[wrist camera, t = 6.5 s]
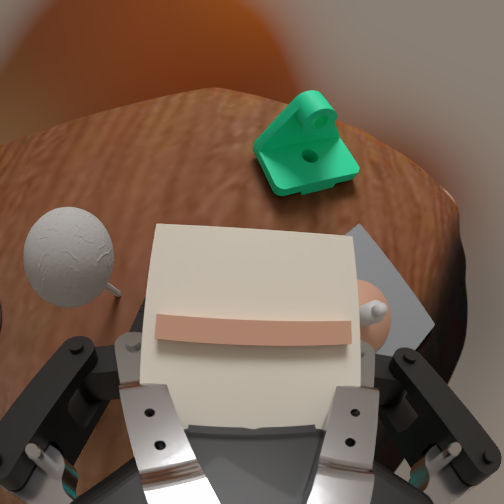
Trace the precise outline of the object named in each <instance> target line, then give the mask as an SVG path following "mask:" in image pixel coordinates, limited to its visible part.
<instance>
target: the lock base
mask: <svg viewBox="0 0 504 504" xmlns="http://www.w3.org/2000/svg"><path fill="white" fill-rule="evenodd" d="M344 236H353V244H354V253H355V263H356V274H357V286H358V300H359V318H360V340H362V341H365V342H366V343H368V344H370V345H371V346H372V347H373V349H374V351H375V353H376V354H380V355H386V356H393V354H394V352H395V351H396V350H397V349H399V348H402V347H406V348H411V349H413V350H416V348H417V347H418V346H419V345H420V343H421V342H422V341H423V340H424V338H425V337H426V336H427V334H428V333H429V332H430V330H431V329H432V328H433V326H434V325H435V324H434V322H433V321H432V319H431V318H430V316H429V315H428V313H427V312H426V310H425V309H424V307H423V306H422V304H421V303H420V302H419V300H418V299H417V297H416V296H415V294H414V293H413V292H412V290H411V289H410V287H409V286H408V285H407V283H406V282H405V281H404V279H403V278H402V277H401V275H400V274H399V272H398V271H397V270H396V269H395V267H394V266H393V265H392V263H391V262H390V261H389V259H388V258H387V257H386V256H385V254H384V253H383V252H382V250H381V249H380V248H379V247H378V245H377V244H376V243H375V242H374V240H373V239H372V238H371V237H370V236H369V234H368V233H367V232H366V231H365V229H364V228H363V227H362V226H361V225H360V224H358V225H357V226H356V227H354V228H353V229H352V230H351V231H349V232H348V233H347V234H345V235H344Z"/></svg>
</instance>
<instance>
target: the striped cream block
mask: <svg viewBox="0 0 504 504" xmlns="http://www.w3.org/2000/svg"><path fill="white" fill-rule="evenodd" d="M140 383H156V384H167V387H168V390H169V393H170V395H171V398H172V401H173V404H174V406H175V409H176V412H177V414H178V417H179V419H180V422H181V424H182V427H183V429H188V425H199V426H215V427H244V428H249V429H258V428H262V427H286V426H301V425H313V424H315V427H316V429H322V430H324V426H325V422H326V418H327V414H328V411H329V408H330V405H331V402H332V399H333V396H334V392H335V389H336V386H360V385H361V348H360V318H359V300H358V286H357V274H356V263H355V253H354V244H353V236H343V235H331V234H318V233H305V232H291V231H277V230H262V229H247V228H231V227H213V226H195V225H175V224H156V229H155V235H154V241H153V247H152V254H151V261H150V268H149V275H148V283H147V291H146V300H145V310H144V320H143V332H142V345H141V363H140Z"/></svg>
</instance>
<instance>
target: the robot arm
mask: <svg viewBox="0 0 504 504" xmlns="http://www.w3.org/2000/svg"><path fill="white" fill-rule="evenodd" d="M145 300H146V297H145V298H144V301H143V303H142V305H141V307H140V309H139V313H138V314H137V316H136V318H135V320H134V322H133V325H132V327H131V329H130V331H129V333H125V334H123V335H121V336H120V337H119V338H118V339H117V340H116V342H115V345H111V346H101V347H94V344H93V342H92V341H91V340H90V339H89V338H87V337H83V336H77V337H72V338H70V339H68V340H67V341H65V342H64V343H63V344H62V345H61V346H60V348H59V349H58V350H57V351H56V352H55V353H54V354H53V356H52V357H51V358H50V359H49V360H48V361H47V363H46V364H45V365H44V366H43V367H42V369H41V370H40V371H39V372H38V373H37V374H36V376H35V377H34V378H33V379H32V381H31V382H30V383H29V384H28V386H27V387H26V388H25V389H24V391H23V392H22V393H21V394H20V396H19V397H18V398H17V399H16V401H15V402H14V403H13V405H12V406H11V407H10V409H9V410H8V411H7V413H6V414H5V415H4V417H3V418H2V419H1V421H0V486H1V487H2V488H3V489H5V490H6V491H8V492H9V493H11V494H12V495H14V496H15V497H17V498H18V499H20V500H21V501H23V502H26V503H28V504H451V503H452V502H453V501H455V500H456V499H457V498H459V497H461V496H462V495H464V494H465V493H466V492H468V491H470V490H471V489H472V488H474V487H475V486H477V485H478V484H480V483H481V482H482V481H484V480H485V479H486V478H488V477H489V476H490V475H492V474H493V473H494V472H495V471H497V470H498V468H499V466H500V464H501V453H500V450H499V449H498V447H497V446H496V444H495V443H494V442H493V441H492V439H491V438H490V437H489V435H488V434H487V433H486V431H485V430H484V429H483V428H482V426H481V425H480V424H479V423H478V421H477V420H476V419H475V418H474V416H473V415H472V414H471V413H470V411H469V410H468V409H467V408H466V407H465V405H464V404H463V403H462V402H461V401H460V400H459V398H458V397H457V396H456V395H455V393H454V392H453V391H452V390H451V389H450V387H449V386H448V385H447V384H446V383H445V382H444V380H443V379H442V378H441V377H440V376H439V375H438V374H437V372H436V371H435V370H434V369H433V368H432V367H431V366H430V365H429V363H428V362H427V361H426V360H425V359H424V358H423V357H422V356H421V354H419V353H418V352H417V351H415V350H413V349H411V348H406V347H402V348H399V349H397V350H396V351H395V352H394V354H393V356H386V355H380V354H376V353H375V351H374V349H373V347H372V346H371V345H370V344H368V343H366V342H365V341H362V340H360V348H361V385H360V386H336V389H335V392H334V396H333V399H332V402H331V405H330V408H329V411H328V414H327V418H326V422H325V426H324V430H322V429H316V427H315V424H313V425H301V426H286V427H262V428H258V429H249V428H244V427H215V426H199V425H188V429H183V427H182V424H181V422H180V419H179V417H178V414H177V412H176V409H175V406H174V404H173V401H172V398H171V395H170V393H169V390H168V387H167V384H156V383H140V363H141V345H142V332H143V320H144V310H145ZM0 326H1V306H0ZM407 393H408V394H409V395H410V396H411V398H412V399H413V400H414V402H415V403H416V404H417V406H418V409H419V414H418V415H417V414H416V412H415V411H414V409H413V408H412V407H411V405H410V404H409V403H408V401H407V400H406V399H405V395H406V394H407ZM111 399H121V403H122V408H123V412H124V417H125V422H126V426H127V430H128V434H129V438H130V442H131V446H132V450H133V453H134V457H133V458H132V459H131V460H129V461H128V462H127V463H125V464H124V465H123V466H121V467H120V468H119V469H117V470H116V471H115V472H113V473H112V474H110V475H109V476H108V477H106V478H105V479H104V480H102V481H101V482H99V483H98V484H96V485H95V486H94V487H92V488H91V489H89V490H88V491H86V492H85V493H83V494H82V495H80V496H79V497H77V496H76V487H77V482H78V475H77V472H76V470H75V468H74V467H73V466H74V464H75V462H76V460H77V458H78V456H79V455H80V453H81V451H82V449H83V447H84V446H85V444H86V442H87V440H88V438H89V437H90V435H91V433H92V431H93V430H94V428H95V426H96V424H97V423H98V421H99V419H100V417H101V416H102V414H103V412H104V410H105V409H106V407H107V405H108V404H109V402H110V400H111ZM378 417H379V418H380V420H381V421H382V423H383V424H384V426H385V428H386V429H387V431H388V432H389V434H390V435H391V437H392V439H393V440H394V442H395V443H396V445H397V446H398V448H399V450H400V451H401V453H402V454H403V456H404V458H405V459H406V461H407V462H408V464H409V466H410V467H411V471H410V480H409V482H407V481H405V480H404V479H402V478H401V477H399V476H398V475H396V474H394V473H393V472H391V471H390V470H388V469H387V468H385V467H384V466H382V465H381V464H380V463H378V462H377V461H375V460H374V459H373V458H374V450H375V442H376V432H377V421H378Z"/></svg>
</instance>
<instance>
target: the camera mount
mask: <svg viewBox="0 0 504 504" xmlns="http://www.w3.org/2000/svg"><path fill="white" fill-rule="evenodd" d="M336 118H337V114H336V112H335V111H334V109H333V108H332V107H331V106H330V104H329V103H328V102H327V100H326V99H325V98H324V97H323V95H322V94H321V93H320V92H317V91H313V90H312V91H306V92H303V93H301V94H300V95H298V96H297V97H296V98H295V99H294V100H293V101H292V102H291V103H290V104H289V105H288V106H287V107H286V108H285V109H284V110H283V111H282V112H281V113H280V114H279V116H278V117H277V118H276V119H275V120H274V121H273V122H272V123H271V124H270V125H269V126H268V127H267V129H266V130H265V131H264V132H263V133H262V134H261V135H260V136H259V137H258V139H257V140H256V141H255V142H254V147H253V151H254V153H255V155H256V157H257V159H258V161H259V163H260V165H261V167H262V169H263V172H264V174H265V176H266V178H267V180H268V182H269V184H270V186H271V188H272V190H273V192H274V193H275V194H276V195H278V196H286V195H290V194H294V193H298V192H300V193H301V195H304V194H308V193H312V192H316V191H320V190H324V189H328V188H332V187H334V185H335V184H336V183H339V182H344V181H348V180H352V179H354V178H355V176H356V175H357V173H358V172H359V166H358V164H357V163H356V161H355V159H354V158H353V156H352V155H351V153H350V152H349V150H348V149H347V147H346V146H345V144H344V143H343V141H342V140H341V138H340V136H339V133H338V130H337V127H336V124H335V121H336Z"/></svg>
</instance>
